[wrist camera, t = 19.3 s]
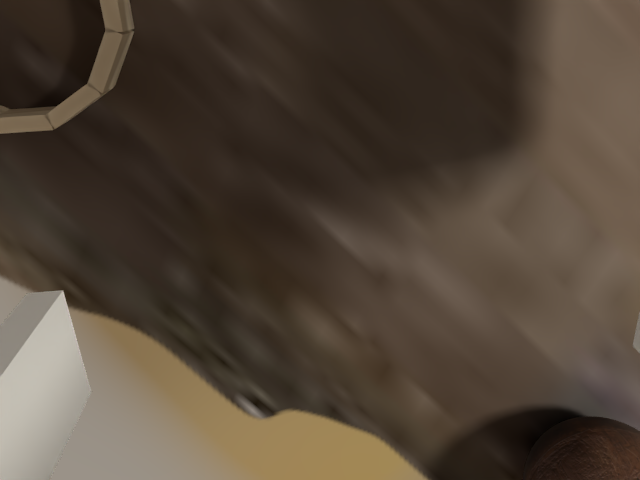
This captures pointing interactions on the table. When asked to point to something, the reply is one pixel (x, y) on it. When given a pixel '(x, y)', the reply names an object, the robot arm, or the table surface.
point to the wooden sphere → (585, 451)
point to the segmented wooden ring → (99, 82)
